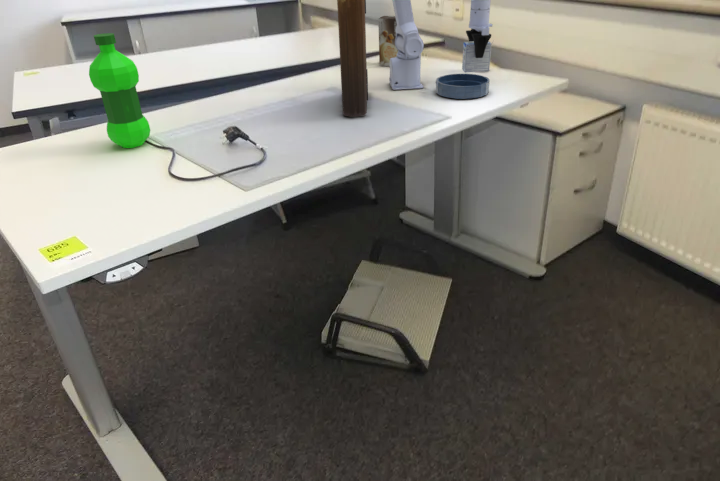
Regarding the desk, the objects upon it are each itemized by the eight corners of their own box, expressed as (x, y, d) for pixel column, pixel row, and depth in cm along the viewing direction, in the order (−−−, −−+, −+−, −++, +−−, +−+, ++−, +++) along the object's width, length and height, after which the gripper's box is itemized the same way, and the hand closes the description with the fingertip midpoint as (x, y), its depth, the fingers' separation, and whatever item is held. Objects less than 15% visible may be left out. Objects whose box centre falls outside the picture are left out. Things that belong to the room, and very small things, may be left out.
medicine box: (486, 68, 171) (488, 40, 167) (489, 71, 167) (491, 42, 163) (461, 70, 171) (463, 41, 167) (464, 73, 167) (465, 43, 163)
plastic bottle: (111, 155, 123) (78, 41, 111) (109, 141, 132) (79, 33, 119) (156, 147, 127) (129, 35, 114) (152, 134, 135) (127, 29, 122)
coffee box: (408, 63, 195) (408, 15, 186) (402, 67, 189) (403, 18, 181) (384, 62, 198) (384, 15, 190) (378, 65, 193) (377, 17, 184)
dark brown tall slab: (344, 94, 161) (339, -16, 146) (368, 93, 161) (365, -17, 146) (341, 118, 141) (334, -7, 126) (368, 117, 141) (365, -8, 126)
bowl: (442, 101, 151) (443, 88, 149) (431, 87, 164) (431, 75, 162) (495, 98, 152) (496, 84, 150) (479, 84, 165) (480, 72, 163)
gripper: (501, 11, 154) (496, 60, 161) (486, 5, 167) (482, 50, 174) (477, 12, 154) (473, 61, 161) (463, 6, 166) (461, 51, 173)
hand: (476, 56), depth 167 cm, fingers closed on medicine box, 4 cm apart
